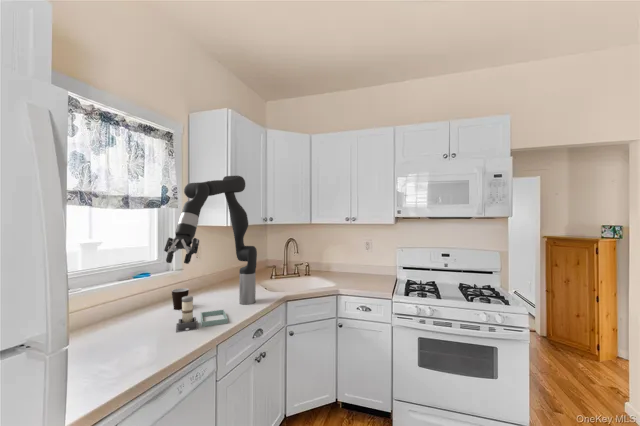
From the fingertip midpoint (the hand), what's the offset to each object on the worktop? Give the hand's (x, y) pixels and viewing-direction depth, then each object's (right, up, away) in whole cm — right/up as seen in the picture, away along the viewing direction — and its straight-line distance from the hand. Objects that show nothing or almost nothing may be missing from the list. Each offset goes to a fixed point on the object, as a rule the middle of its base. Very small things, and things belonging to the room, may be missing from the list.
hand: (177, 263), depth 119 cm
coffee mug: (-19, -33, +45) cm, 59 cm away
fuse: (-2, -31, +13) cm, 34 cm away
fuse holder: (-2, -32, +13) cm, 34 cm away
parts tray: (+7, -32, +22) cm, 39 cm away
